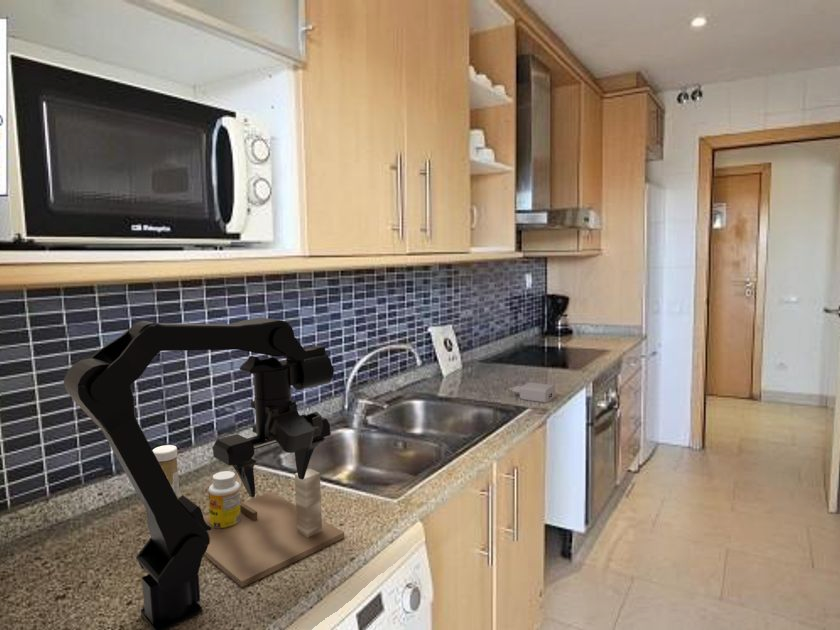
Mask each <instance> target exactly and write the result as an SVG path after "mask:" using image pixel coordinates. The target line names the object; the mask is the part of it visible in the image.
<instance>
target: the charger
mask: <svg viewBox="0 0 840 630" xmlns="http://www.w3.org/2000/svg"><path fill="white" fill-rule="evenodd" d="M508 390H510V391H512V393H513V394H517V395H519V398H520V399H521V400H524V401H530V402H535V403H542V404H543V403H544V404H546V403H548V402H550V401H551V400H552V399H554V398H555V397H556V386H555V385H554V384H546V383H538V382H528V383H525V384H523V385H516V386H514V387H513V386H512V387H511V386H510V388H508Z"/></svg>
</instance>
